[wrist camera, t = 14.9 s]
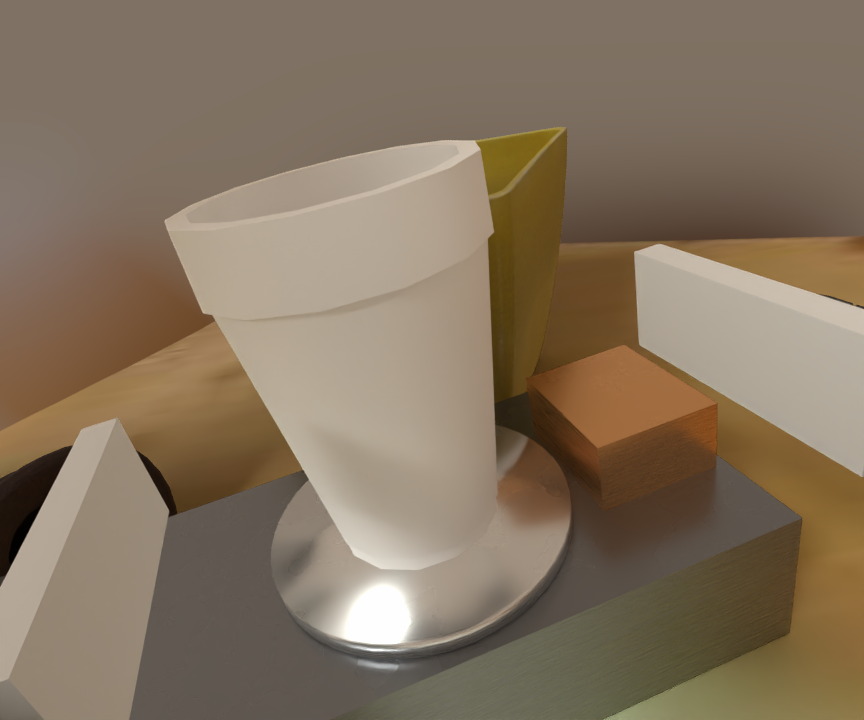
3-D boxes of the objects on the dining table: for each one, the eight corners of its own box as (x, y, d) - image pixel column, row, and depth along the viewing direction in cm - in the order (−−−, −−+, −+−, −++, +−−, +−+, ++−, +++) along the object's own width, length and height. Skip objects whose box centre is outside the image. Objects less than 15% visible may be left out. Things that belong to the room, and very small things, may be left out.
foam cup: (486, 640, 17) (377, 211, 11) (256, 577, 21) (90, 243, 15) (562, 446, 24) (520, 125, 18) (379, 428, 29) (298, 163, 23)
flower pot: (589, 334, 47) (569, 121, 40) (549, 487, 32) (504, 190, 25) (386, 340, 55) (337, 162, 47) (277, 467, 40) (179, 235, 32)
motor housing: (164, 923, 18) (12, 769, 14) (197, 609, 30) (118, 475, 26) (789, 632, 22) (810, 447, 18) (605, 454, 34) (593, 317, 30)
